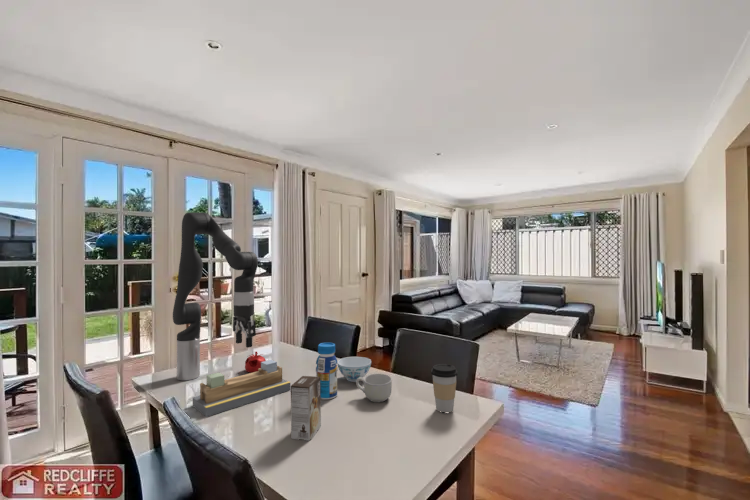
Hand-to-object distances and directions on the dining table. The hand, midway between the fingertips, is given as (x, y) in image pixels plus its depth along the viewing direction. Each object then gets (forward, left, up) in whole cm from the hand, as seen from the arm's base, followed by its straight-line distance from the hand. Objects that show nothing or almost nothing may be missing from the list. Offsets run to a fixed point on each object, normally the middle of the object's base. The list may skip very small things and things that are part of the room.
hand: (243, 345), depth 138 cm
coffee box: (+40, +1, -20) cm, 45 cm away
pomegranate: (-26, +18, -20) cm, 38 cm away
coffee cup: (+62, +44, -20) cm, 79 cm away
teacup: (+37, +34, -20) cm, 54 cm away
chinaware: (+16, +43, -20) cm, 50 cm away
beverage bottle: (+22, +23, -20) cm, 38 cm away
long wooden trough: (0, 0, -17) cm, 17 cm away
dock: (0, 0, -20) cm, 20 cm away
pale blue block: (0, +11, -13) cm, 16 cm away
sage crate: (0, -11, -13) cm, 17 cm away
